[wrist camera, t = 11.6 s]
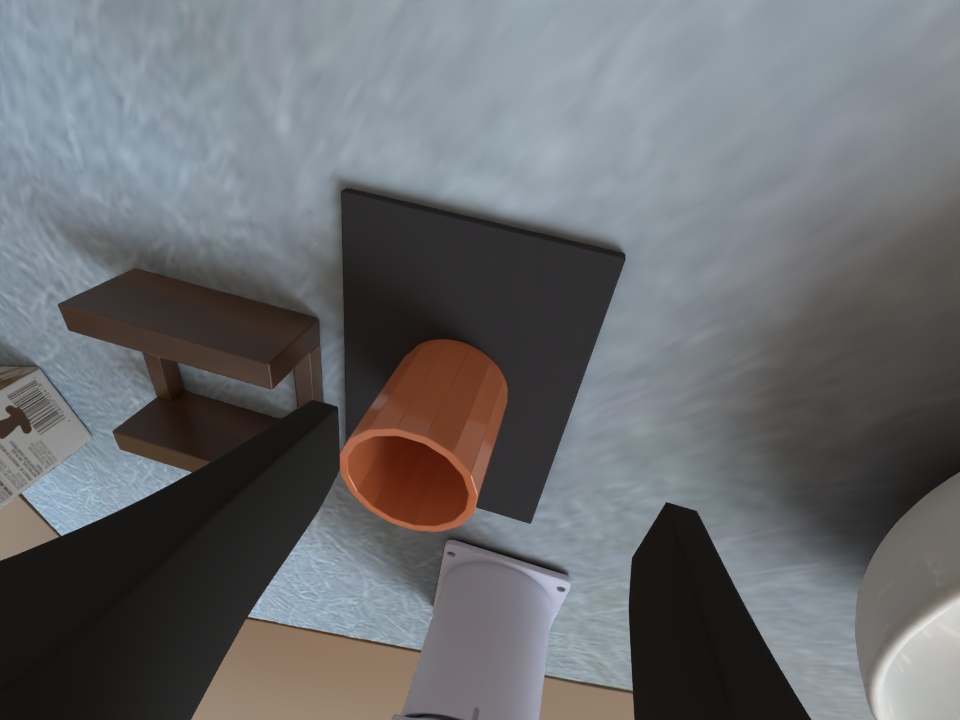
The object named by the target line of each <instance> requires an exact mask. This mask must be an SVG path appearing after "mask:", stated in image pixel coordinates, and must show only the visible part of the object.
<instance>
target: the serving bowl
mask: <svg viewBox="0 0 960 720" xmlns="http://www.w3.org/2000/svg"><path fill="white" fill-rule="evenodd" d="M855 637H856V646H857V655H858V660H859V666H860V671H861V676H862V680H863V684H864V688H865V693H866V697H867V701H868V704H869V707H870V710H871V712H872V715H873V717H874V719H875V720H960V472H959V473H957V474H956V475H954V476H952V477H951V478H949V479H948V480H946V481H945V482H943V483H942V484H941V485H939V486H938V487H936V488H935V489H933V490H932V491H931V492H929V493H928V494H927V495H926V496H925V497H923V498H922V499H921V500H920V501H919V502H917V503H916V504H915V505H914V506H913V507H912V508H911V509H910V510H909V511H908V512H907V513H906V514H905V515H903V516H902V517H901V518H900V519H899V520H898V522H897V523H896V524H895V525H894V526H893V527H892V529H891V530H890V531H889V532H888V534H887V535H886V536H885V538H884V539H883V541H882V542H881V544H880V545H879V547H878V548H877V550H876V552H875V553H874V555H873V557H872V559H871V561H870V563H869V565H868V567H867V569H866V572H865V574H864V577H863V580H862V583H861V587H860V590H859V594H858V599H857V605H856V619H855Z"/></svg>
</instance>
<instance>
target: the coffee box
mask: <svg viewBox="0 0 960 720" xmlns="http://www.w3.org/2000/svg"><path fill="white" fill-rule="evenodd" d="M91 439H92V435H91V434H90V433H89V431H88V430H87V429H86V428H85V426H84V425H83V424H82V422H81V421H80V420H79V418H78V417H77V416H76V415H75V413H74V412H73V411H72V410H71V408H70V407H69V406H68V404H67V403H66V402H65V401H64V399H63V398H62V397H61V395H60V394H59V393H58V391H57V390H56V389H55V388H54V386H53V385H52V384H51V382H50V381H49V380H48V378H47V377H46V376H45V374H44V373H43V372H42V371H41V370H40V368H38V367H12V366H0V509H1V508H3V507H4V506H5V505H6V504H8V503H9V502H10V501H12V500H13V499H14V498H16V497H17V496H18V495H20V494H21V493H22V492H23V491H25V490H26V489H27V488H29V487H30V486H31V485H32V484H34V483H35V482H36V481H38V480H39V479H40V478H42V477H43V476H44V475H46V474H47V473H48V472H50V471H51V470H53V469H54V468H55V467H56V466H57V465H59V464H60V463H61V462H63V461H64V460H65V459H67V458H68V457H69V456H71V455H72V454H73V453H75V452H76V451H77V450H79V449H80V448H81V447H82V446H84V445H85V444H86V443H88V442H89V441H90V440H91Z"/></svg>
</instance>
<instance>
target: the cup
mask: <svg viewBox="0 0 960 720" xmlns="http://www.w3.org/2000/svg"><path fill="white" fill-rule="evenodd" d="M507 402H508V388H507V384H506V381H505V378H504V376H503V374H502V372H501V370H500V369H499V367H498V366H497V365H496V364H495V363H494V361H493V360H492V359H491V358H489V357H488V356H487V355H486V354H485V353H483V352H482V351H480V350H479V349H477V348H475V347H473V346H471V345H469V344H466V343H463V342H460V341H455V340H448V339H437V340H430V341H427V342H423V343H421V344H419V345H417V346H416V347H414V348H413V349H411V350H410V351H409V352H408V353H407V355H406V356H405V357H404V358H403V360H402V361H401V363H400V364H399V366H398V367H397V368H396V370H395V371H394V373H393V374H392V376H391V377H390V379H389V380H388V382H387V383H386V385H385V386H384V388H383V389H382V391H381V392H380V393H379V395H378V396H377V398H376V399H375V401H374V402H373V404H372V405H371V407H370V408H369V410H368V411H367V413H366V414H365V415H364V417H363V418H362V420H361V421H360V423H359V424H358V426H357V427H356V429H355V430H354V432H353V433H352V435H351V436H350V438H349V439H348V441H347V442H346V444H345V445H344V447H343V449H342V450H341V452H340V473H341V475H342V477H343V479H344V481H345V483H346V485H347V487H348V489H349V491H350V492H351V493H352V494H353V495H354V496H355V497H356V498H357V499H358V500H359V501H360V502H361V503H362V504H363V505H364V506H365V507H366V508H367V509H368V510H370V511H371V512H373V513H375V514H377V515H378V516H380V517H382V518H383V519H385V520H387V521H388V522H391V523H393V524H396V525H399V526H403V527H406V528H409V529H412V530H416V531H434V532H439V531H444V530H448V529H451V528H455V527H459V526H461V525H462V524H463V523H464V522H465V521H466V520H467V519H468V518H469V517H471V516H472V515H473V514H474V512H475V509H476V505H477V502H478V499H479V496H480V492H481V489H482V486H483V483H484V479H485V476H486V473H487V469H488V466H489V463H490V460H491V456H492V453H493V450H494V447H495V443H496V440H497V437H498V433H499V430H500V427H501V424H502V420H503V417H504V413H505V409H506V406H507Z"/></svg>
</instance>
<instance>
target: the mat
mask: <svg viewBox="0 0 960 720" xmlns="http://www.w3.org/2000/svg"><path fill="white" fill-rule="evenodd" d="M341 204H342V250H343V297H344V343H345V389H346V435H347V441H348V439H349V438H350V436H351V435H352V433H353V432H354V430H355V429H356V427H357V426H358V424H359V423H360V421H361V420H362V418H363V417H364V415H365V414H366V413H367V411H368V410H369V408H370V407H371V405H372V404H373V402H374V401H375V399H376V398H377V396H378V395H379V393H380V392H381V391H382V389H383V388H384V386H385V385H386V383H387V382H388V380H389V379H390V377H391V376H392V374H393V373H394V371H395V370H396V368H397V367H398V366H399V364H400V363H401V361H402V360H403V358H404V357H405V356H406V355H407V353H408V352H409V351H410V350H411V349H413V348H414V347H416V346H417V345H419V344H421V343H423V342H427V341H430V340H437V339H448V340H455V341H460V342H463V343H466V344H469V345H471V346H473V347H475V348H477V349H479V350H480V351H482V352H483V353H485V354H486V355H487V356H488V357H489V358H491V359H492V360H493V361H494V363H495V364H496V365H497V366H498V367H499V369H500V370H501V372H502V374H503V376H504V378H505V381H506V384H507V388H508V402H507V406H506V409H505V413H504V417H503V420H502V424H501V427H500V430H499V433H498V437H497V440H496V443H495V447H494V450H493V453H492V456H491V460H490V463H489V466H488V469H487V473H486V476H485V479H484V483H483V486H482V489H481V492H480V496H479V499H478V502H477V505H476V507H477V508H480V509H483V510H487V511H490V512H493V513H497V514H500V515H503V516H506V517H510V518H513V519H516V520H520V521H523V522H526V523H529V524H530V523H531V522H532V519H533V516H534V513H535V510H536V508H537V505H538V502H539V499H540V496H541V494H542V491H543V488H544V485H545V483H546V480H547V477H548V474H549V471H550V469H551V466H552V463H553V460H554V457H555V455H556V452H557V449H558V446H559V443H560V441H561V438H562V435H563V432H564V429H565V427H566V424H567V421H568V418H569V415H570V413H571V410H572V407H573V404H574V402H575V399H576V396H577V393H578V390H579V388H580V385H581V382H582V379H583V376H584V374H585V371H586V368H587V365H588V362H589V360H590V357H591V354H592V351H593V348H594V346H595V343H596V340H597V337H598V334H599V332H600V329H601V326H602V323H603V321H604V318H605V315H606V312H607V309H608V307H609V304H610V301H611V298H612V295H613V293H614V290H615V287H616V284H617V281H618V279H619V276H620V273H621V270H622V267H623V265H624V262H625V254H624V253H620V252H616V251H612V250H607V249H603V248H599V247H595V246H590V245H586V244H582V243H578V242H574V241H569V240H565V239H561V238H557V237H552V236H548V235H544V234H540V233H535V232H531V231H527V230H523V229H518V228H514V227H510V226H506V225H502V224H497V223H493V222H489V221H485V220H480V219H476V218H472V217H468V216H463V215H459V214H455V213H451V212H447V211H442V210H438V209H434V208H430V207H425V206H421V205H417V204H413V203H408V202H404V201H400V200H396V199H391V198H387V197H383V196H379V195H375V194H370V193H366V192H362V191H358V190H353V189H349V188H346V189H344V190H342V191H341Z"/></svg>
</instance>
